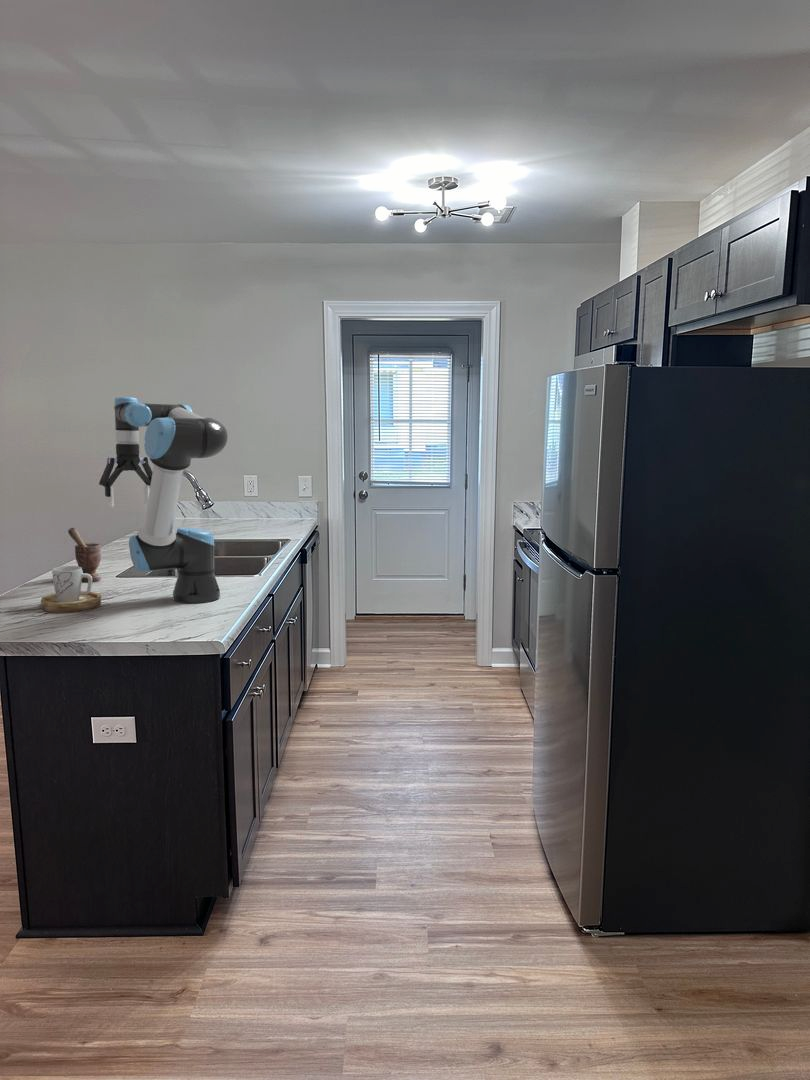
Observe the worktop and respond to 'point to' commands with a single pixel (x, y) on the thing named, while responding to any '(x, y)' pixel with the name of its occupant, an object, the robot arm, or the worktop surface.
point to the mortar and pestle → (86, 555)
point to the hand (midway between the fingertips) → (129, 505)
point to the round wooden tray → (71, 603)
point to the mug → (69, 583)
